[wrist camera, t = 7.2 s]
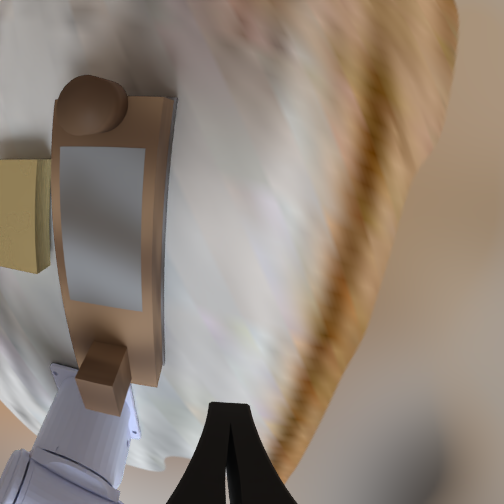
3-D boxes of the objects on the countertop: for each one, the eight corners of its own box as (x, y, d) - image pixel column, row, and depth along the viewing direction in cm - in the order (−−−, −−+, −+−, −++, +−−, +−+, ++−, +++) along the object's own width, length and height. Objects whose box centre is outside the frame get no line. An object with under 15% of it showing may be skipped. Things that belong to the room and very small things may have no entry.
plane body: (165, 361, 22) (150, 428, 16) (91, 348, 21) (63, 407, 15) (179, 87, 15) (148, 68, 9) (80, 88, 14) (15, 80, 8)
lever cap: (-9, 264, 15) (9, 254, 17) (37, 274, 16) (53, 262, 18) (-11, 160, 13) (9, 159, 16) (37, 159, 14) (56, 159, 16)
